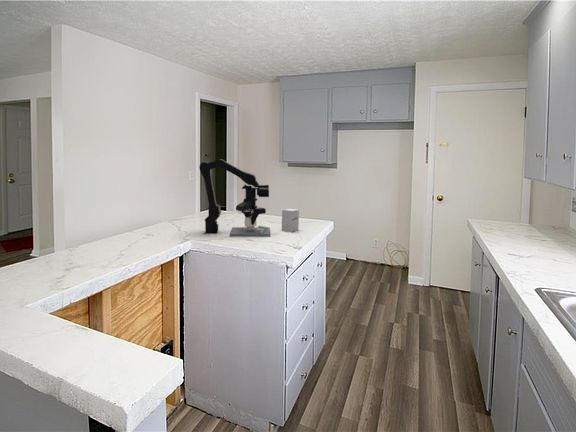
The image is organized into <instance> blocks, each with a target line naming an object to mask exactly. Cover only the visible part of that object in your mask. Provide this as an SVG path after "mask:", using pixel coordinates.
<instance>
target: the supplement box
mask: <svg viewBox="0 0 576 432" xmlns="http://www.w3.org/2000/svg"><path fill="white" fill-rule="evenodd" d="M299 218H300V209H296V208H285V209H284V208H283V209H281V231H283V232H286V233H287V232H288V233H292V232H296V231H297V232H298V231H299Z"/></svg>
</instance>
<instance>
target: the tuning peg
mask: <svg viewBox="0 0 576 432" xmlns="http://www.w3.org/2000/svg"><path fill="white" fill-rule="evenodd" d="M244 227H247V231H254V229H258V230H264V229H261V228H256V227H257V220H256V221H255V223H254V225H252V223H251V217H245V216H244Z"/></svg>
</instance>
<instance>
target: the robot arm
mask: <svg viewBox="0 0 576 432" xmlns="http://www.w3.org/2000/svg"><path fill="white" fill-rule="evenodd" d="M216 168H222V169H224V170H226V171H227V172H229V173H231V174H233V175H235V176H236V177H238V178H239V179H240V180H242V182H243V183H245V184H244V185H243V186H242V187H241V189H242V190H244V189H245V191H244V192H245V193H244V194H245V196H244V197H245V198H244V199H243V201H242V202H240V203H239V204H237V205H236V207H235V211H238V212H240V214H241V213H242V214H243V215H244V218H245V217H251V223H252V225H254V223H255V221H256V222H257V218H258V217H259V215H263V214H266V211H267V210H266V208H265V207H258V205H257V204H256V203H257V201H258V198H257V196H258V197H259V198H270V189H269V188H270V187H269V186H270V185H269V184H260V183H259V182H258V181H257V178H256V175H255V174H252V173H250V172H247V171H244V170H241V169H240V168H238V167H236V166H234V165H232V164H231V163H230V162H227V161H225V160H224V159H218V160H214V161H211V162H209V161H203V162H201V163H200V164H199V171H200V174H201V176H202V178H203V180H204V185H205V190H206V195H207V200H208V215H207V216H206V218H204V225H205V226H204V227H205V230H204V231H205V232H204V234H212V235H213V234H215V235H216V234H217V233H218V232H219V223H218V221H217V220H218V219H219V217H221V213H222V212H223V211H222V209H221V208H222V207H221V205H220V204H218V203H217V198H216V193H215V189H214V183H213V179H212V177H213V169H216Z"/></svg>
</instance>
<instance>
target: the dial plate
mask: <svg viewBox="0 0 576 432" xmlns="http://www.w3.org/2000/svg"><path fill="white" fill-rule="evenodd" d="M255 227H256V228H261V229H264V230H258V229H254V231H247V227H246V226H234V227H231V230H230V232H229V237H231V238H232V237H233V238H234V237H237V238H238V237H243V238H244V237H249V238H250V237H252V238H253V237H255V238H257V237H260V238H261V237H262V238H263V237H267V238H268V237H271V227H269V226H266V225H258V226H255Z"/></svg>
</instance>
